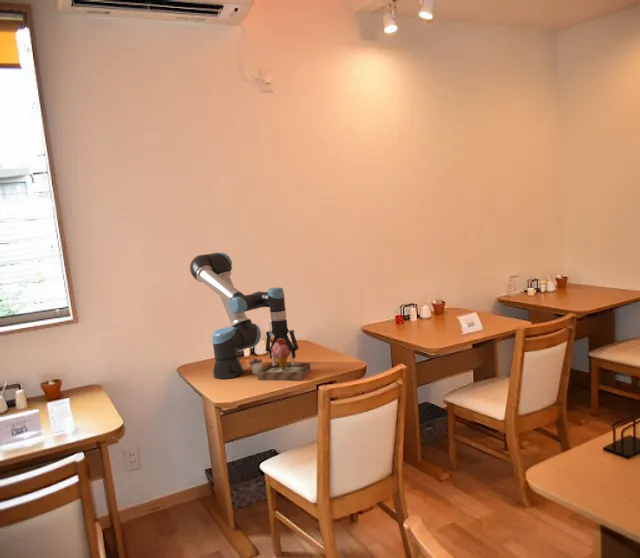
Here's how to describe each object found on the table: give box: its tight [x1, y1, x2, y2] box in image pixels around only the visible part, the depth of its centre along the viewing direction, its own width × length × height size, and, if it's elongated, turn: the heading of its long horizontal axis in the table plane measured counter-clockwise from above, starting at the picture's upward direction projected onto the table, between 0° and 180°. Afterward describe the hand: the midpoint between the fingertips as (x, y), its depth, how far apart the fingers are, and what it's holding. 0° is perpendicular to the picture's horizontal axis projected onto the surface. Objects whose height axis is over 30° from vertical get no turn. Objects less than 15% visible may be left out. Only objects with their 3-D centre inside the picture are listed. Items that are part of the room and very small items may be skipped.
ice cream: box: [272, 339, 291, 370], centre depth 274 cm, size 11×10×15 cm
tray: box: [256, 362, 312, 382], centre depth 275 cm, size 22×16×4 cm
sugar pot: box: [249, 358, 264, 375], centre depth 283 cm, size 6×6×8 cm
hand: (283, 364), depth 274 cm, fingers closed on ice cream, 9 cm apart
